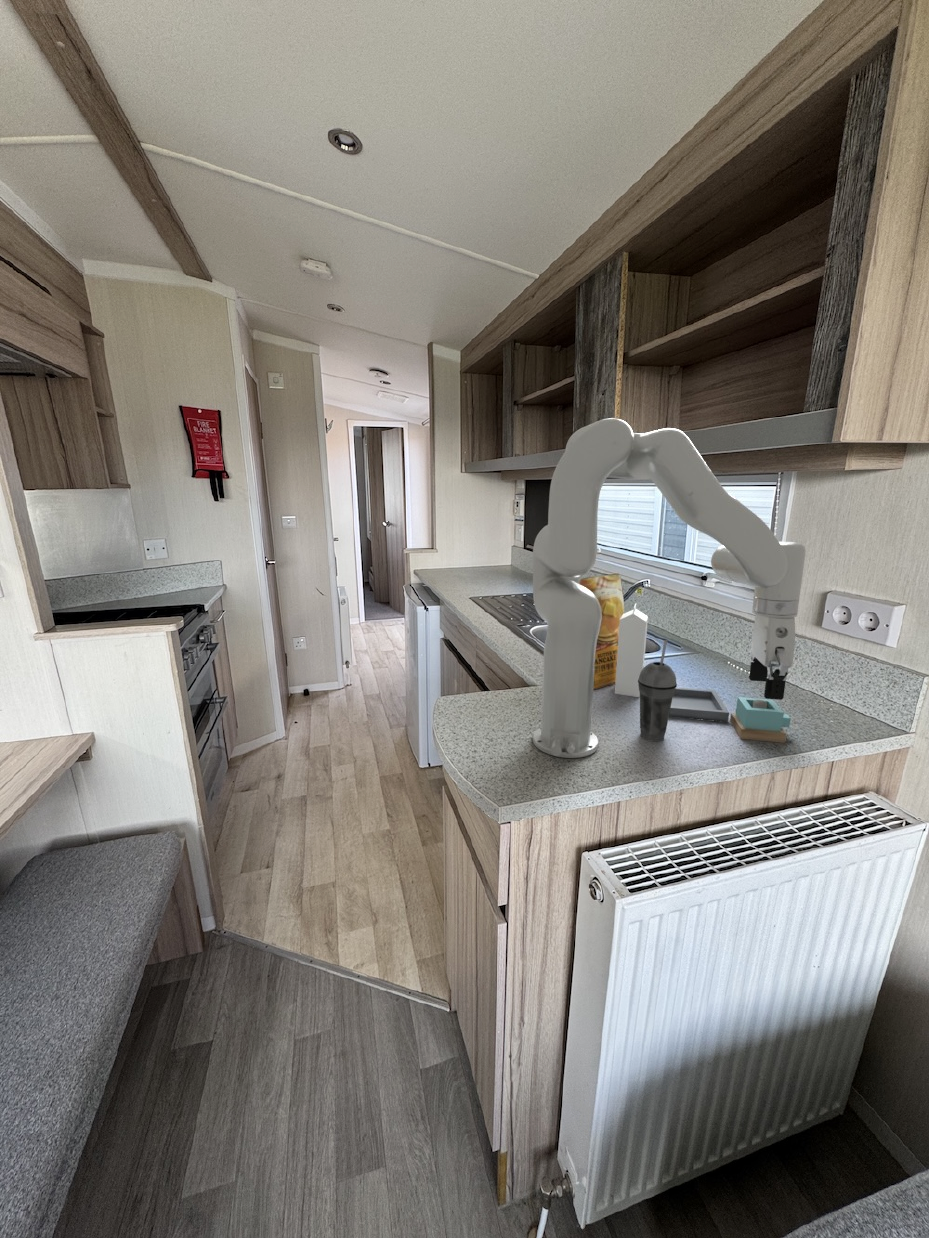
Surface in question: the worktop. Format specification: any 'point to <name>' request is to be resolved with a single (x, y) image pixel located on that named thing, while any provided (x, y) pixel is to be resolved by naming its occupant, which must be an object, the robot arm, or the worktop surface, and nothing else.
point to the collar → (761, 715)
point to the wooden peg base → (757, 733)
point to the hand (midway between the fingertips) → (765, 689)
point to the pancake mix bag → (606, 625)
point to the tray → (698, 705)
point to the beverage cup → (656, 698)
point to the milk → (630, 652)
